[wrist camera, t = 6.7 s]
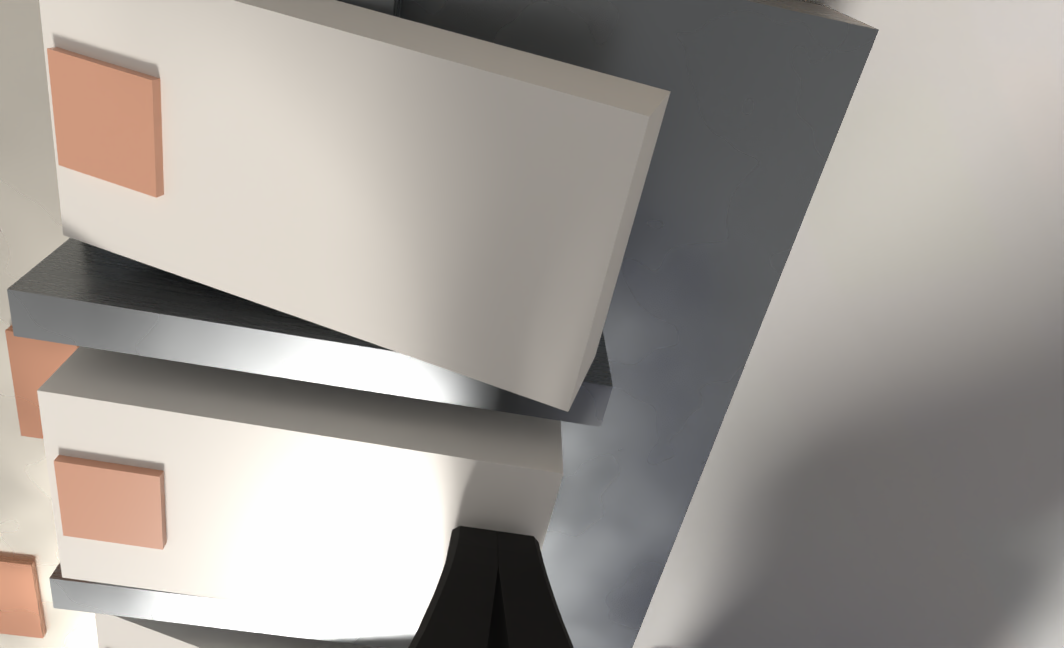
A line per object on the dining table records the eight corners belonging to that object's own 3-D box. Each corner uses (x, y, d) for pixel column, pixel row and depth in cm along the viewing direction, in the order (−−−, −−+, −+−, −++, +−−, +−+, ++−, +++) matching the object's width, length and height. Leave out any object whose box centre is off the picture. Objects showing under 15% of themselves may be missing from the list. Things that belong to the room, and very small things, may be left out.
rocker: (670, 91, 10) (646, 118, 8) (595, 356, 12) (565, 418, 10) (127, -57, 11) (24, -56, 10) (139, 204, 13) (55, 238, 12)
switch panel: (823, 5, 14) (954, 62, 10) (590, 653, 23) (606, 830, 19) (-63, -193, 12) (-363, -225, 8) (51, 586, 21) (-66, 765, 17)
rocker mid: (560, 413, 14) (563, 480, 12) (517, 572, 16) (515, 646, 14) (89, 336, 13) (31, 396, 12) (106, 511, 15) (57, 584, 13)
